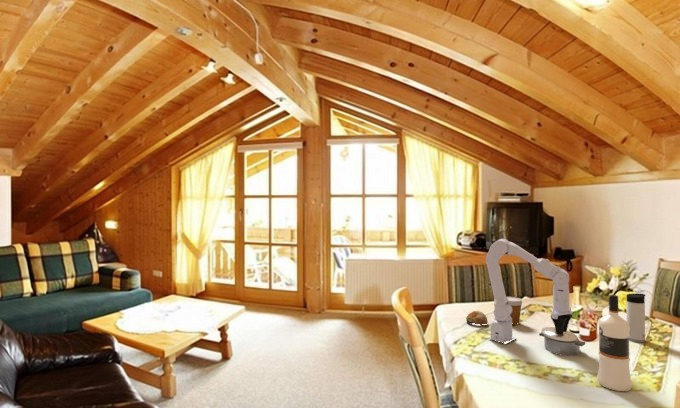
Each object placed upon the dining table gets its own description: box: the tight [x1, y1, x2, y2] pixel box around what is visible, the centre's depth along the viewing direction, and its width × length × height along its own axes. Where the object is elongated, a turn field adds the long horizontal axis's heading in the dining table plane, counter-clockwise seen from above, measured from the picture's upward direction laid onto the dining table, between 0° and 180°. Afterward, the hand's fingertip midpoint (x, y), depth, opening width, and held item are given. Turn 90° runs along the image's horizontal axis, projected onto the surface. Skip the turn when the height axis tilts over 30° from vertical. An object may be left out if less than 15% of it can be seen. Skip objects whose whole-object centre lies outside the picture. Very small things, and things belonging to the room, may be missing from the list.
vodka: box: [596, 294, 633, 392], centre depth 124 cm, size 9×9×30 cm
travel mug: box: [625, 292, 646, 344], centre depth 162 cm, size 6×7×20 cm
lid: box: [541, 326, 578, 342], centre depth 154 cm, size 13×13×6 cm
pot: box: [538, 331, 586, 357], centre depth 154 cm, size 12×16×5 cm
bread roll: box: [465, 310, 489, 325], centre depth 187 cm, size 10×10×8 cm
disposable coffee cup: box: [506, 296, 523, 324], centre depth 187 cm, size 10×10×12 cm
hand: (561, 332), depth 154 cm, fingers closed on lid, 3 cm apart
